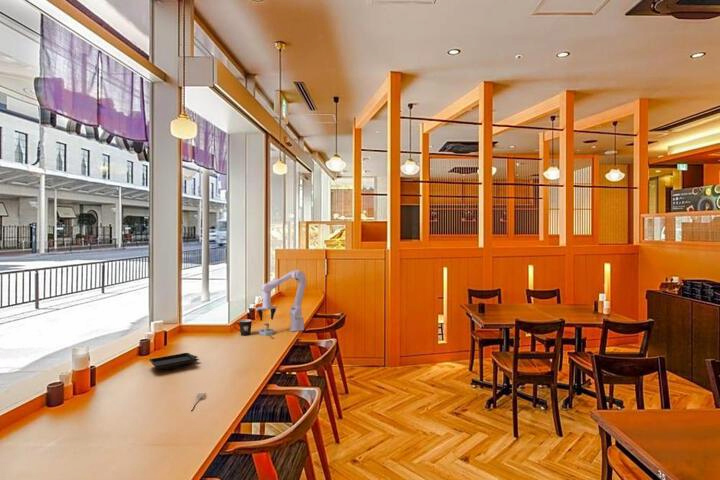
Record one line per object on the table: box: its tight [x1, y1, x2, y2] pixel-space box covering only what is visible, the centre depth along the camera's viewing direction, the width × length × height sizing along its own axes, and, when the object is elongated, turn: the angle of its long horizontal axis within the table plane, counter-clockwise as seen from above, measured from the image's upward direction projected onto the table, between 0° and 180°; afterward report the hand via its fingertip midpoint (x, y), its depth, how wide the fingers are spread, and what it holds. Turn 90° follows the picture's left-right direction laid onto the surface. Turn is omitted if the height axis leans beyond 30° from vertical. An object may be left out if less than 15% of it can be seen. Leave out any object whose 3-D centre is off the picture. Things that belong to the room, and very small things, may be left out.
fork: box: [194, 392, 207, 405], centre depth 180 cm, size 3×21×3 cm, turn 2°
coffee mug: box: [233, 318, 253, 337], centre depth 294 cm, size 12×9×10 cm
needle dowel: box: [263, 323, 270, 331], centre depth 297 cm, size 3×3×7 cm
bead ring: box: [258, 328, 275, 337], centre depth 297 cm, size 10×10×2 cm
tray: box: [148, 352, 198, 371], centre depth 227 cm, size 30×23×5 cm
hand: (266, 319), depth 297 cm, fingers open, 7 cm apart
